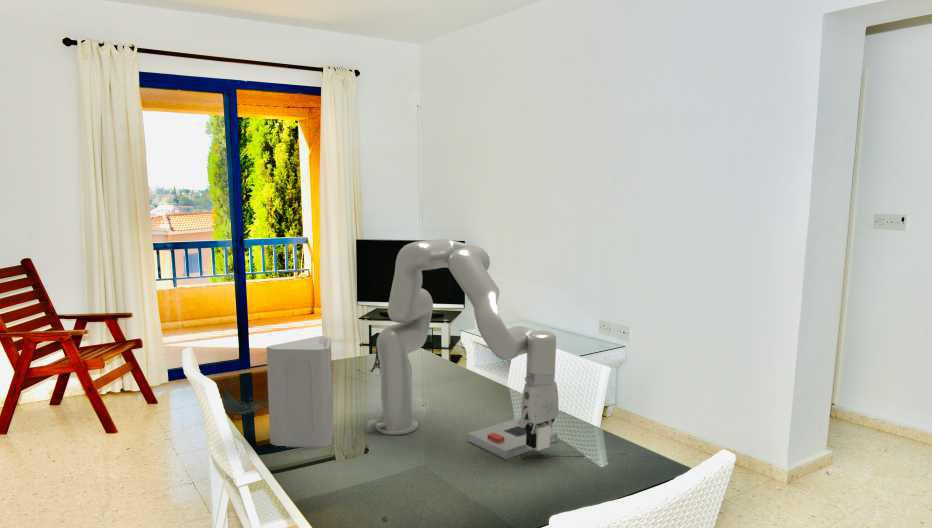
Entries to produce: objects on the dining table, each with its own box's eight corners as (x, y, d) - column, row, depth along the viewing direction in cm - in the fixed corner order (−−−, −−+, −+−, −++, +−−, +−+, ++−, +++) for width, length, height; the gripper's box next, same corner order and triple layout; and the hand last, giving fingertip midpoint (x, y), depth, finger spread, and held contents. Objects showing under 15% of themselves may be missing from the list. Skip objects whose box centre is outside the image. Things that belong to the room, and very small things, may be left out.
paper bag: (298, 456, 162) (294, 355, 159) (268, 442, 172) (265, 346, 169) (354, 436, 176) (352, 342, 174) (324, 424, 186) (321, 335, 183)
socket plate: (506, 459, 160) (506, 447, 159) (468, 441, 172) (468, 430, 172) (557, 440, 172) (557, 430, 172) (518, 425, 185) (518, 415, 184)
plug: (537, 450, 158) (539, 424, 157) (525, 444, 161) (526, 419, 160) (549, 446, 161) (550, 420, 160) (537, 440, 164) (538, 415, 163)
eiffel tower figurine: (355, 371, 248) (354, 339, 246) (376, 366, 255) (375, 335, 253) (376, 378, 237) (375, 345, 235) (397, 373, 244) (396, 341, 242)
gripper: (527, 387, 151) (525, 457, 153) (572, 376, 161) (569, 441, 163) (507, 379, 156) (505, 447, 158) (551, 369, 167) (549, 432, 169)
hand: (537, 443), depth 161 cm, fingers closed on plug, 4 cm apart
